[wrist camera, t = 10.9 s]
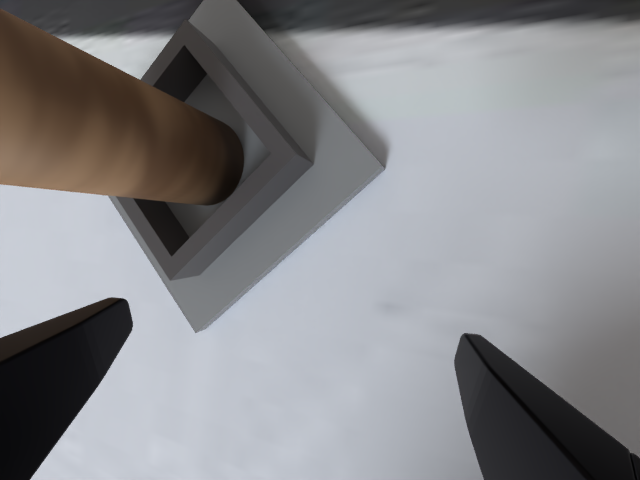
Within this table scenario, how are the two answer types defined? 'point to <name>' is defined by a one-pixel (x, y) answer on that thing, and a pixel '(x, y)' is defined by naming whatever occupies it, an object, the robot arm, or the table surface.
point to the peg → (103, 127)
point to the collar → (245, 163)
